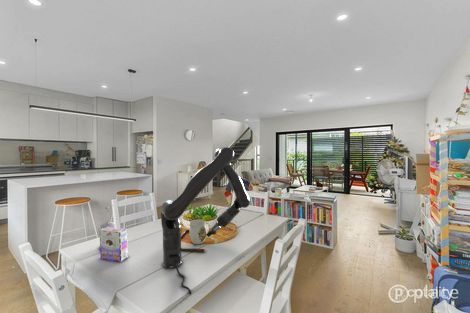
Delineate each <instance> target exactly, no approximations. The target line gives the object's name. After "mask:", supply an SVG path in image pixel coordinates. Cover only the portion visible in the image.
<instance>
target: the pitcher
mask: <svg viewBox="0 0 470 313" xmlns="http://www.w3.org/2000/svg"><path fill="white" fill-rule="evenodd" d="M187 225H188V227H189V229H190V230H189V232H188V234H189V238H190V240H191V242H192V244H194V245H202V244H203V243H204V242H205V241H206V239H207V233H208V231H210V224H209V222H208V221H206V220H205V219H201V218H200V219H197V218H196V219H193V220H190V221H189V223H188V224H187ZM206 225H207V226H206Z"/></svg>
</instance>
